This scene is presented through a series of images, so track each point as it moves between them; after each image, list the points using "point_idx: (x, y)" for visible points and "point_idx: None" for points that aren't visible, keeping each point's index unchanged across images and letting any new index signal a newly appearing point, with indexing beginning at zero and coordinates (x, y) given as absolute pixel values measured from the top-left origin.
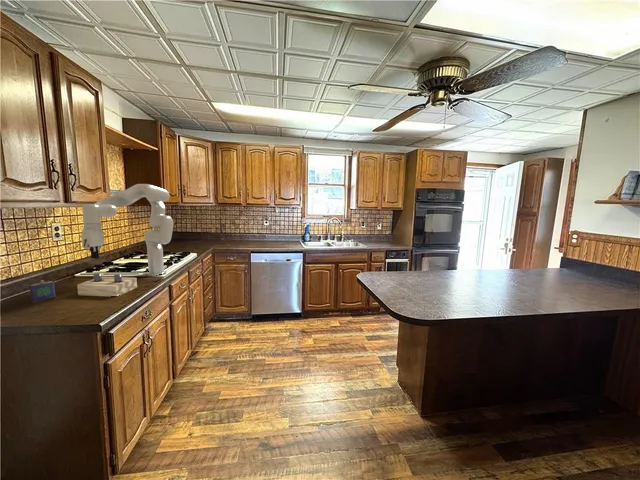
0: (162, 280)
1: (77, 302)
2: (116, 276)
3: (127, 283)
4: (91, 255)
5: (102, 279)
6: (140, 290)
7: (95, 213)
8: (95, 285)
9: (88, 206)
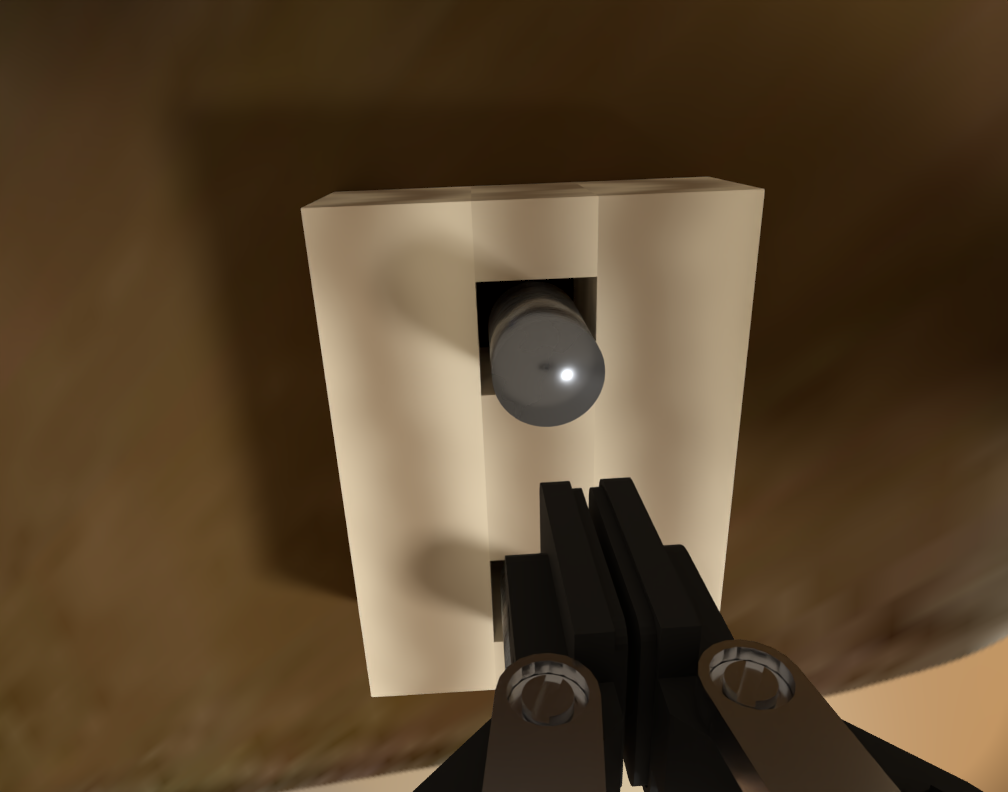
0: (922, 666)
1: (149, 393)
2: None
3: None
4: (508, 587)
5: (604, 347)
6: None
7: None
8: (340, 476)
9: None
